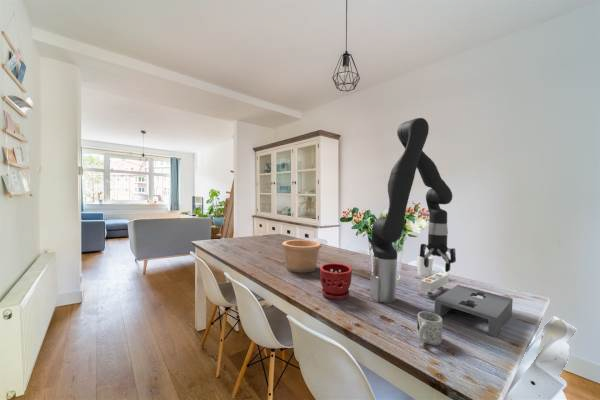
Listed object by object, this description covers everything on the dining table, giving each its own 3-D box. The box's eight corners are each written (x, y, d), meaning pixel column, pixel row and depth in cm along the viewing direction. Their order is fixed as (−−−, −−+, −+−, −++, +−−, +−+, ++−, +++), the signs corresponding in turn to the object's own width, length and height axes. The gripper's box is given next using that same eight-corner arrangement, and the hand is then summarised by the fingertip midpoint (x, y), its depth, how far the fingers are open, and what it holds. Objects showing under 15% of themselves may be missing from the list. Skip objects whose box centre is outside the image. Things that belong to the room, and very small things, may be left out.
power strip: (430, 299, 107) (431, 281, 107) (420, 296, 110) (421, 279, 110) (447, 288, 120) (448, 273, 120) (438, 286, 123) (439, 271, 123)
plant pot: (315, 290, 113) (316, 263, 112) (343, 289, 115) (344, 262, 115) (324, 303, 100) (325, 272, 100) (356, 301, 103) (357, 271, 102)
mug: (422, 330, 82) (422, 309, 82) (444, 339, 77) (445, 317, 77) (408, 341, 75) (409, 319, 75) (432, 352, 70) (433, 328, 70)
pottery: (321, 275, 134) (322, 247, 134) (279, 273, 135) (280, 246, 134) (319, 263, 156) (320, 240, 156) (283, 262, 156) (283, 239, 156)
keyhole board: (495, 337, 79) (496, 318, 79) (434, 315, 92) (434, 298, 92) (511, 314, 95) (512, 298, 95) (457, 298, 108) (457, 284, 108)
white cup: (413, 272, 144) (414, 255, 143) (426, 272, 144) (427, 255, 144) (421, 277, 136) (422, 258, 135) (435, 277, 136) (436, 258, 136)
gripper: (417, 231, 117) (416, 267, 118) (452, 236, 106) (451, 274, 107) (424, 230, 122) (424, 264, 123) (458, 234, 111) (457, 271, 112)
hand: (436, 269), depth 115 cm, fingers open, 8 cm apart
